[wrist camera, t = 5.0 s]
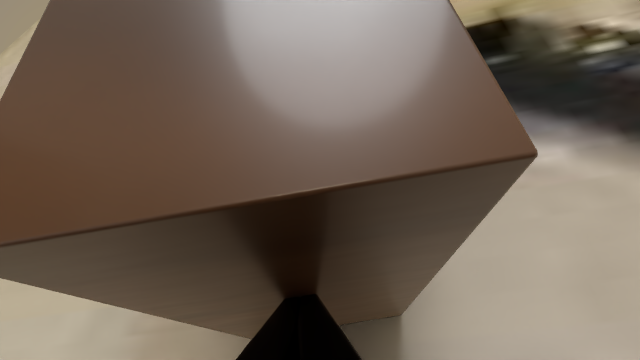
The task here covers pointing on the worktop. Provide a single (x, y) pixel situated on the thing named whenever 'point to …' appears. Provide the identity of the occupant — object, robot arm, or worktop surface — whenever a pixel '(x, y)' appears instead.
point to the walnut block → (249, 155)
